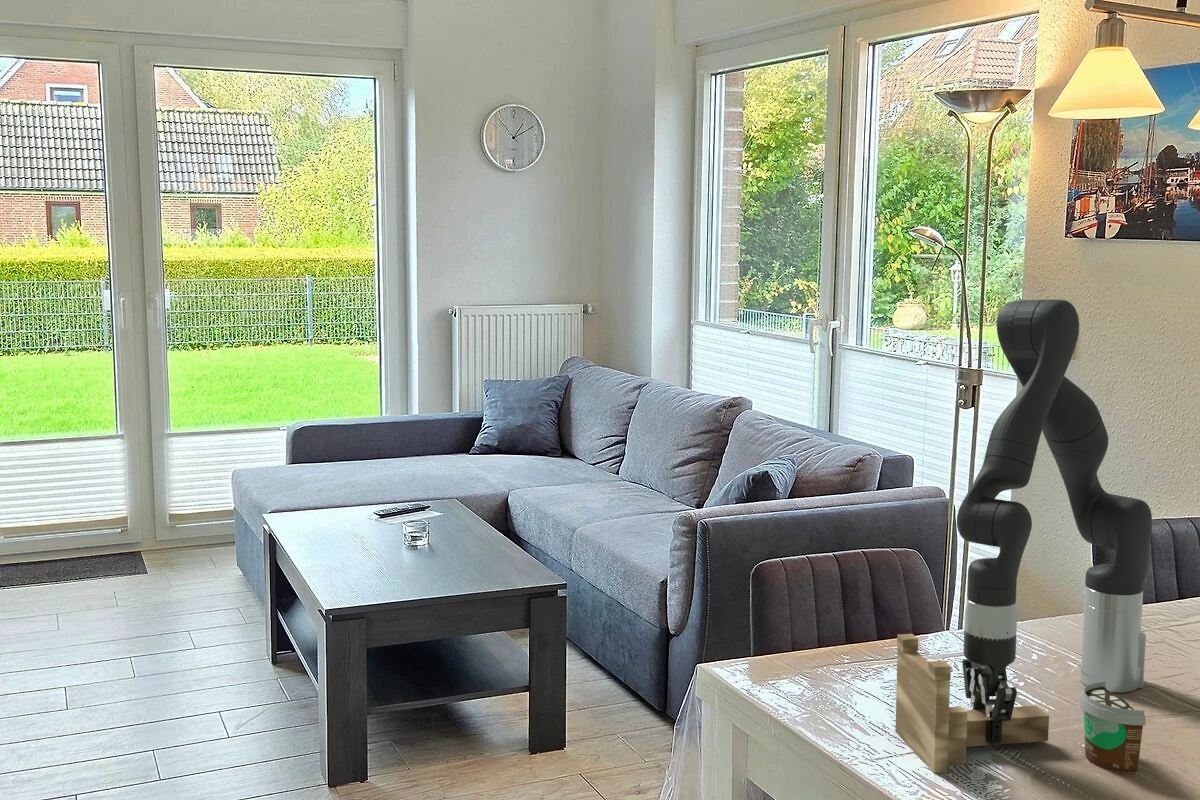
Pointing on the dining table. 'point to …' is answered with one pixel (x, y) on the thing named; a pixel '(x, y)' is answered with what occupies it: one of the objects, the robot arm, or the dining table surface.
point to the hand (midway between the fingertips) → (986, 736)
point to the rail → (1009, 726)
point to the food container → (1111, 729)
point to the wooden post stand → (928, 708)
